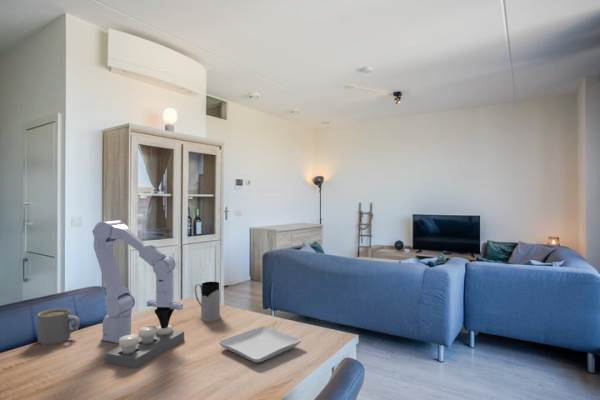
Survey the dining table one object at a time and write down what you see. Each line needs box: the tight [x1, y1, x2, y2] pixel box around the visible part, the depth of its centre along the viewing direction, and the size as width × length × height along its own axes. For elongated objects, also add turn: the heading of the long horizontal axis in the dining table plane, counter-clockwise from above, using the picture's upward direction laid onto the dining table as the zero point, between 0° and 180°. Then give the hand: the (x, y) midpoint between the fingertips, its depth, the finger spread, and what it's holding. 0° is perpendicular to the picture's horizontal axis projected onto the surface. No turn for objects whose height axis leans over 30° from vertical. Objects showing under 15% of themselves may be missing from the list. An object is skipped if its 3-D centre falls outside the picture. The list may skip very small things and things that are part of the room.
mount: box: [104, 329, 185, 369], centre depth 125 cm, size 12×24×3 cm, turn 161°
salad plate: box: [218, 326, 302, 363], centre depth 127 cm, size 21×21×3 cm
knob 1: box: [118, 334, 139, 356], centre depth 117 cm, size 6×6×5 cm
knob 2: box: [138, 325, 157, 345], centre depth 125 cm, size 6×6×5 cm
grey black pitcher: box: [194, 281, 222, 322], centre depth 160 cm, size 9×14×15 cm, turn 57°
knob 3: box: [156, 324, 174, 336], centre depth 133 cm, size 6×6×5 cm
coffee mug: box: [37, 307, 81, 345], centre depth 135 cm, size 13×10×10 cm
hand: (164, 327), depth 133 cm, fingers closed, pressing on knob 3
